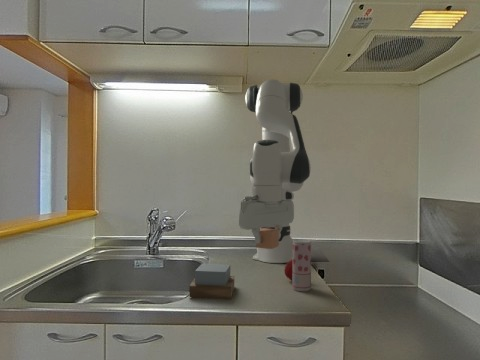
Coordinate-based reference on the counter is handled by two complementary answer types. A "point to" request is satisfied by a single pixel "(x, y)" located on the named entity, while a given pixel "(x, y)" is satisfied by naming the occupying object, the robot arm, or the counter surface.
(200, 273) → the grey block
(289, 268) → the onion
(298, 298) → the counter surface
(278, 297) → the counter surface
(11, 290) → the counter surface
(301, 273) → the beverage can
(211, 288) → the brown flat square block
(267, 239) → the rust cube
